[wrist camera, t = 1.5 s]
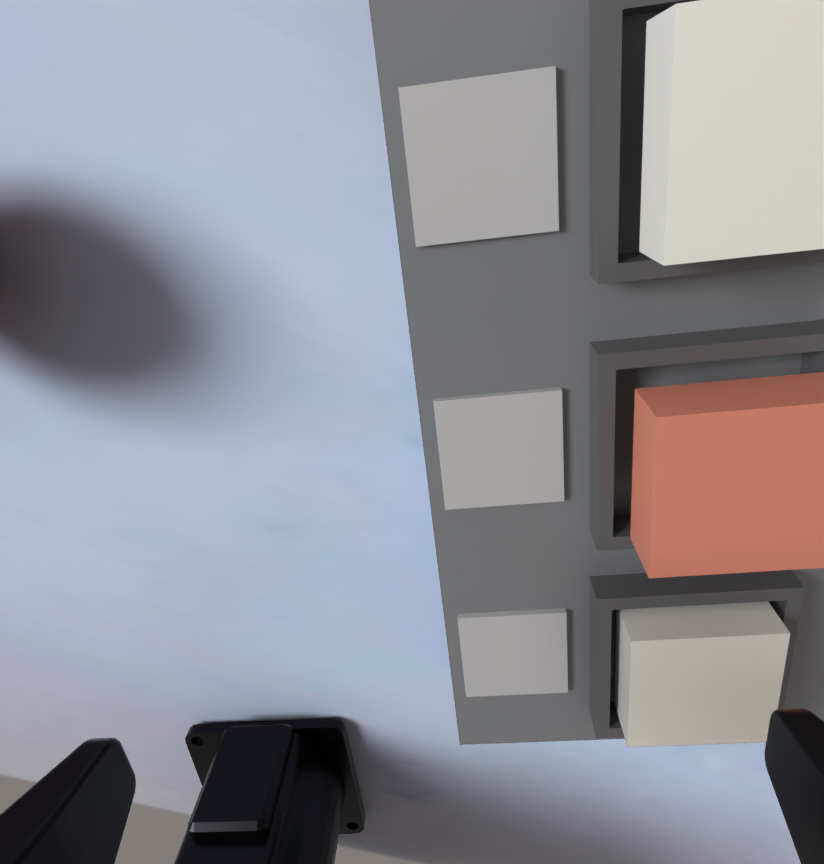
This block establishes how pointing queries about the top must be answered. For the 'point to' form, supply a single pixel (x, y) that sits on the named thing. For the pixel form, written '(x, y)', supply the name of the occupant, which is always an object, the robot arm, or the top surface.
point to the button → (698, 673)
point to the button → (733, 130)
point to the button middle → (729, 476)
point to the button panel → (559, 349)
